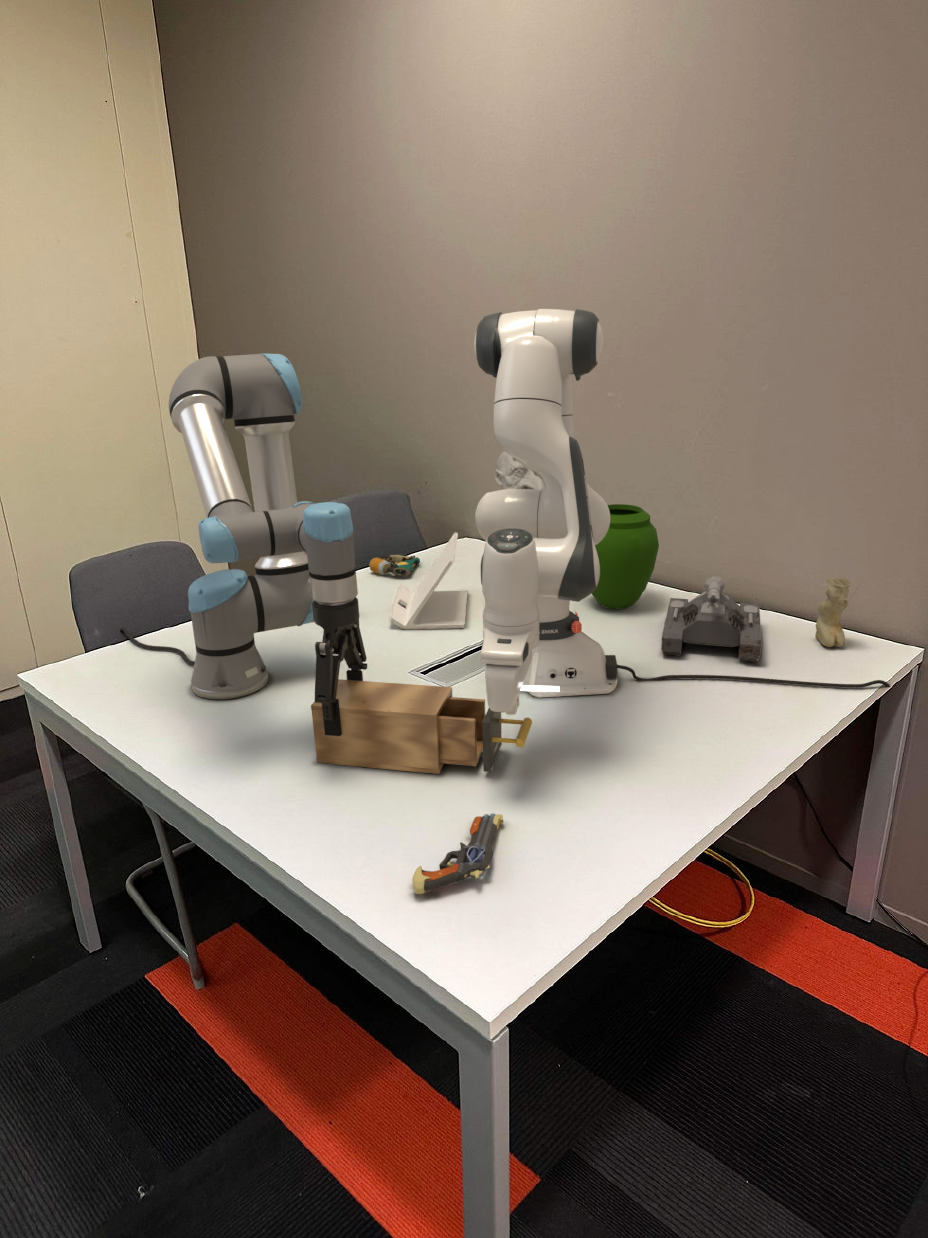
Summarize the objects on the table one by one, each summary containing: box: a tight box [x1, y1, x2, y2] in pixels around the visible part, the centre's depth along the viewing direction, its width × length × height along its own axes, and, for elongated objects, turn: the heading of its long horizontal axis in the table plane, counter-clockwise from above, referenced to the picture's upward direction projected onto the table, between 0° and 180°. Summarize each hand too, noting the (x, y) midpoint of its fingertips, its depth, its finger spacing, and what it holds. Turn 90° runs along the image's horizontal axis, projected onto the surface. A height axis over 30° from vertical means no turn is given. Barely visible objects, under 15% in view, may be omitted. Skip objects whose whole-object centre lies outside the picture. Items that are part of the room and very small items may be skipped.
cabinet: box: [310, 678, 453, 775], centre depth 146 cm, size 22×11×11 cm, turn 77°
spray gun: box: [369, 553, 421, 577], centre depth 246 cm, size 4×17×15 cm
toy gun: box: [412, 812, 504, 895], centre depth 119 cm, size 3×19×10 cm
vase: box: [591, 503, 660, 610], centre depth 210 cm, size 20×20×24 cm
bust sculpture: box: [494, 450, 546, 490], centre depth 231 cm, size 16×24×35 cm
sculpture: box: [814, 576, 852, 648], centre depth 185 cm, size 6×7×15 cm
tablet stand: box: [388, 531, 468, 630], centre depth 211 cm, size 18×25×17 cm
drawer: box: [438, 696, 533, 773], centre depth 143 cm, size 26×10×9 cm, turn 77°
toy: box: [660, 575, 762, 662], centre depth 188 cm, size 25×20×15 cm
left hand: (345, 719), depth 147 cm, fingers closed on cabinet, 11 cm apart
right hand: (512, 710), depth 140 cm, fingers closed
